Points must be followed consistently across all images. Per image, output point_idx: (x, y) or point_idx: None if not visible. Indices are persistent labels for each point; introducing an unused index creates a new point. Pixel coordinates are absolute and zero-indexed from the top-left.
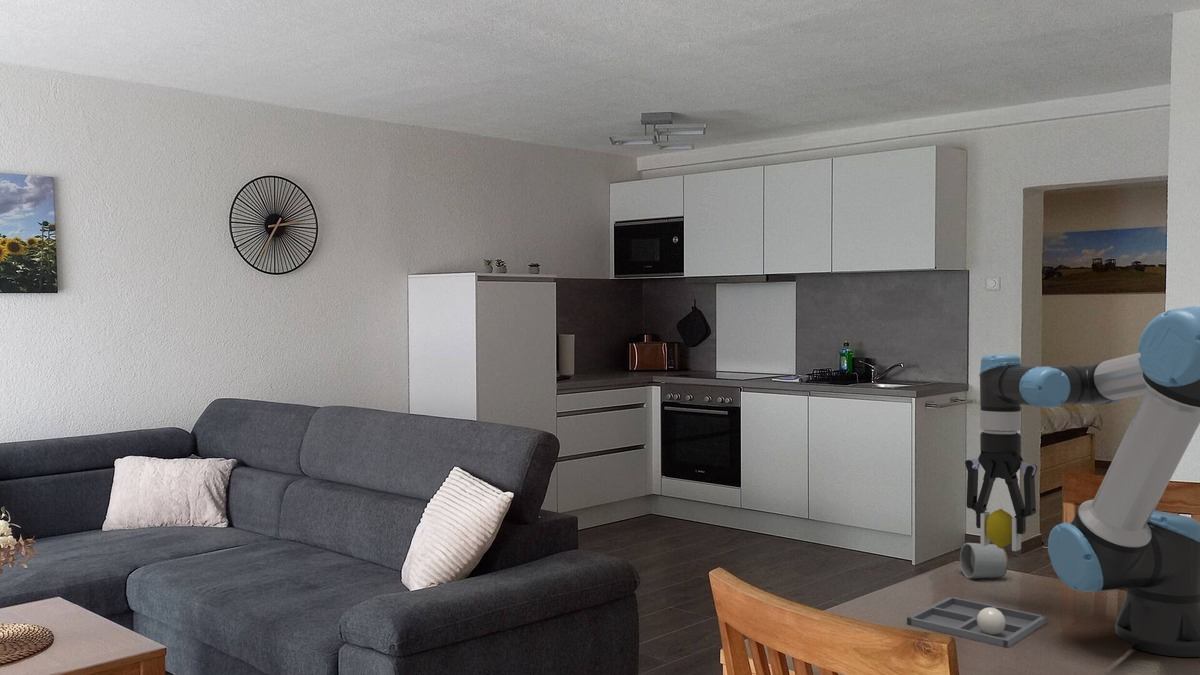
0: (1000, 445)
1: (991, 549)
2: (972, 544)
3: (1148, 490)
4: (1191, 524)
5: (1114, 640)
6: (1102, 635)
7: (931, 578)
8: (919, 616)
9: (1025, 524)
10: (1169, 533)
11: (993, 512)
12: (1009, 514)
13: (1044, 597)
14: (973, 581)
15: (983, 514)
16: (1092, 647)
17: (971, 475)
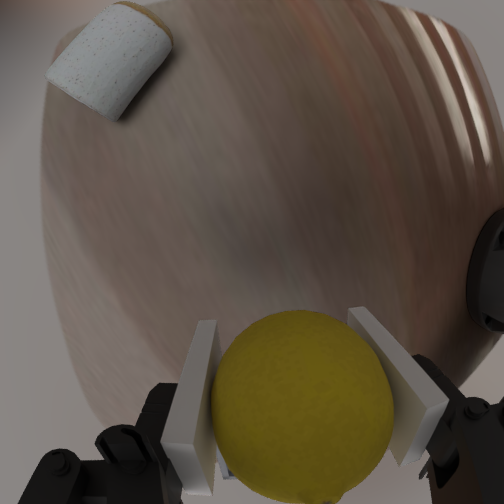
0: None
1: (117, 45)
2: (64, 81)
3: None
4: None
5: (464, 310)
6: (453, 302)
7: (54, 186)
8: (226, 464)
9: (447, 383)
10: None
11: (271, 498)
12: (381, 450)
13: (313, 127)
14: (122, 125)
15: (207, 493)
16: (443, 360)
17: None
